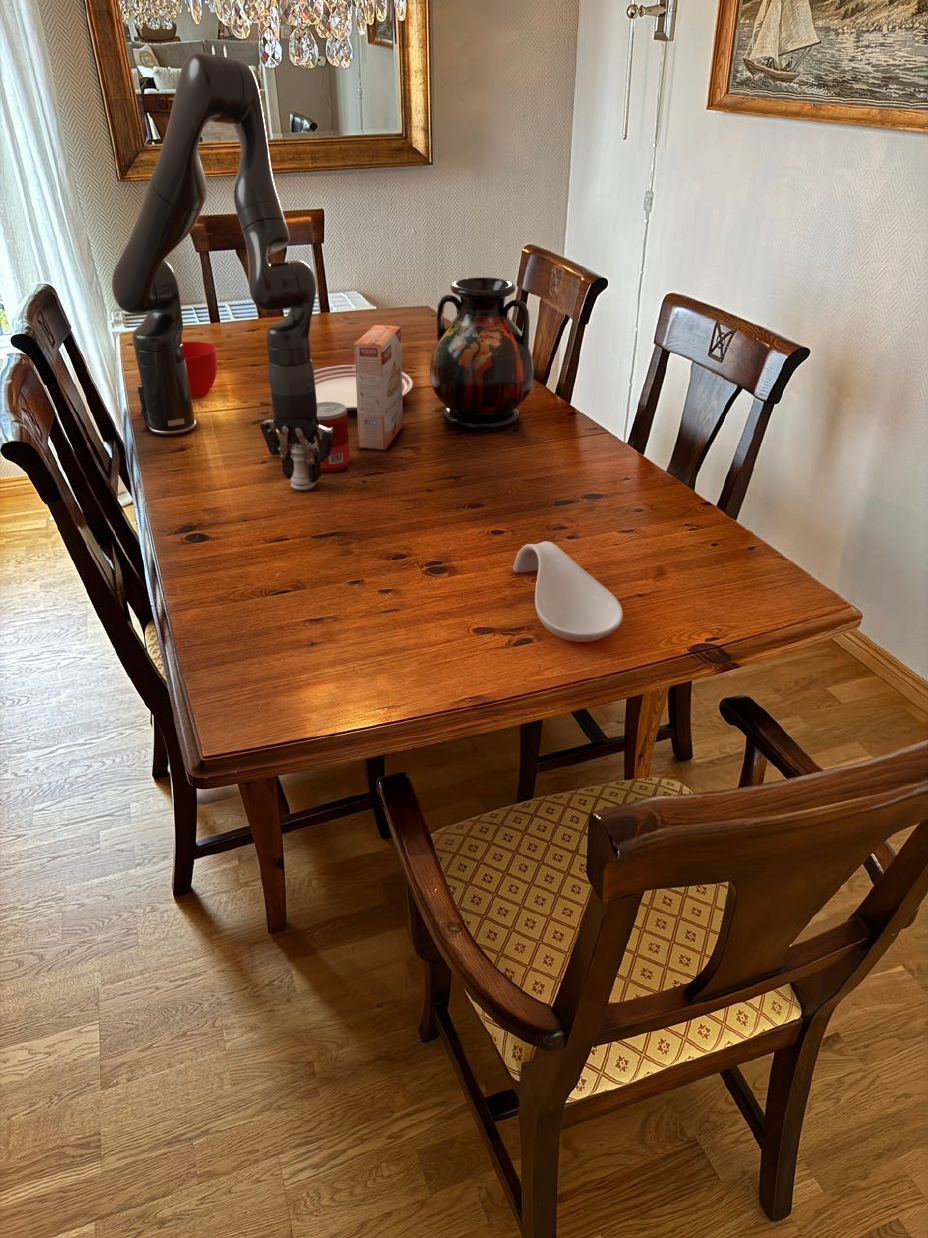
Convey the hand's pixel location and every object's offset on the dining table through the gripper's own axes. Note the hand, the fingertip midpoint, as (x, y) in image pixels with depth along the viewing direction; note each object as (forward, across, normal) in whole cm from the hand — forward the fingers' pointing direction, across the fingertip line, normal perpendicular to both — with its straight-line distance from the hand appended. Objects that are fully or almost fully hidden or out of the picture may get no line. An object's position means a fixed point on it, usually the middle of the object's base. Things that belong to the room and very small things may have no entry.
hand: (302, 478), depth 162 cm
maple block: (+2, +10, -14) cm, 17 cm away
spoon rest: (+2, -54, +25) cm, 59 cm away
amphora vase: (+2, -20, -43) cm, 47 cm away
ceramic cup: (+2, +48, -39) cm, 62 cm away
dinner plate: (+2, +12, -47) cm, 48 cm away
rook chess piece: (+2, 0, 0) cm, 2 cm away
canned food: (+2, 0, -11) cm, 11 cm away
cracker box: (+2, -4, -27) cm, 27 cm away
